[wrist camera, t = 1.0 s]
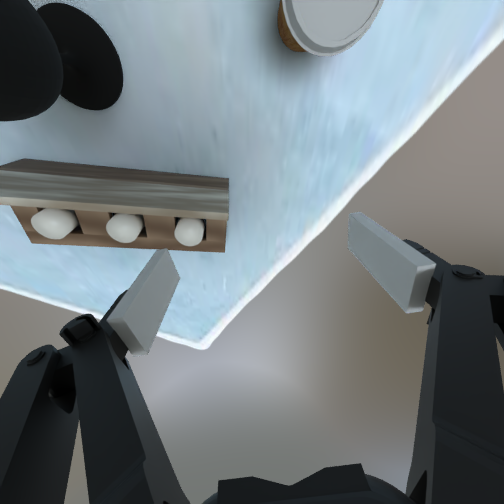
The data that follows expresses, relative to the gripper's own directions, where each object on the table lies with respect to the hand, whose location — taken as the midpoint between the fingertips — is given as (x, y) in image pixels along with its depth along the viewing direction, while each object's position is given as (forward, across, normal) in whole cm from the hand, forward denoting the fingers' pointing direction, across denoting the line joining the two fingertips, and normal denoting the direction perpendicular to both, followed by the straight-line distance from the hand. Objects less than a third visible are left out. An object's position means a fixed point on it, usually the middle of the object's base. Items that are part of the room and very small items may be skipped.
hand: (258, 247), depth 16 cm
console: (+26, -21, 0) cm, 33 cm away
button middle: (+21, -21, -2) cm, 30 cm away
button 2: (+22, -11, -5) cm, 25 cm away
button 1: (+21, -30, +1) cm, 37 cm away
